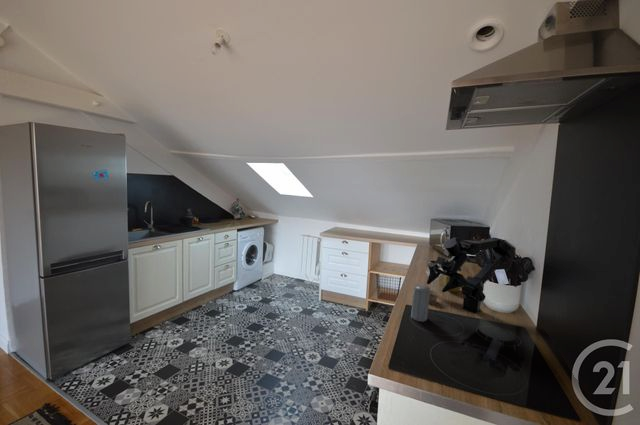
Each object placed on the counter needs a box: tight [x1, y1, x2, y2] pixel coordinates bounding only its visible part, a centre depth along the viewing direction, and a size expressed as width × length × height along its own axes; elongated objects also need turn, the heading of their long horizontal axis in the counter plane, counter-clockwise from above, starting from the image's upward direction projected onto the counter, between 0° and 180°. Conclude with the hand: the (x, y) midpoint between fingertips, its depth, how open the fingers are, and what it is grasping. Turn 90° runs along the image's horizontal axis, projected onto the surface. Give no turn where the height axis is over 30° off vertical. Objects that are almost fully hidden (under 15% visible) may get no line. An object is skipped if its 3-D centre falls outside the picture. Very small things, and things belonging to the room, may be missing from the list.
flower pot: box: [444, 275, 462, 293], centre depth 160 cm, size 9×9×9 cm
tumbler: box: [410, 284, 431, 323], centre depth 124 cm, size 6×6×14 cm
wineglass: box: [425, 260, 443, 297], centre depth 152 cm, size 8×8×18 cm
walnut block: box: [429, 289, 438, 305], centre depth 143 cm, size 5×5×5 cm
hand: (434, 287), depth 126 cm, fingers open, 9 cm apart
